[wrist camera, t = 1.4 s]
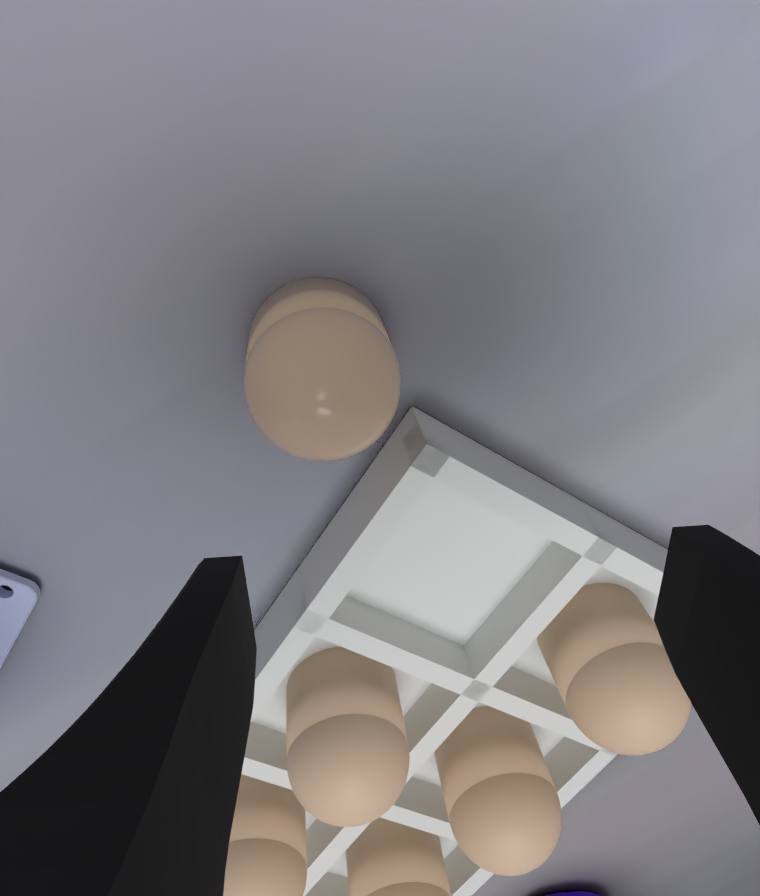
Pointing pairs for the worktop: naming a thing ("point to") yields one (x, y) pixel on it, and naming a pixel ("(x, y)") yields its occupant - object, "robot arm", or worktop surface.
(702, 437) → the worktop surface
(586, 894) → the bottle
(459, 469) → the carton
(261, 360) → the egg
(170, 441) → the worktop surface
